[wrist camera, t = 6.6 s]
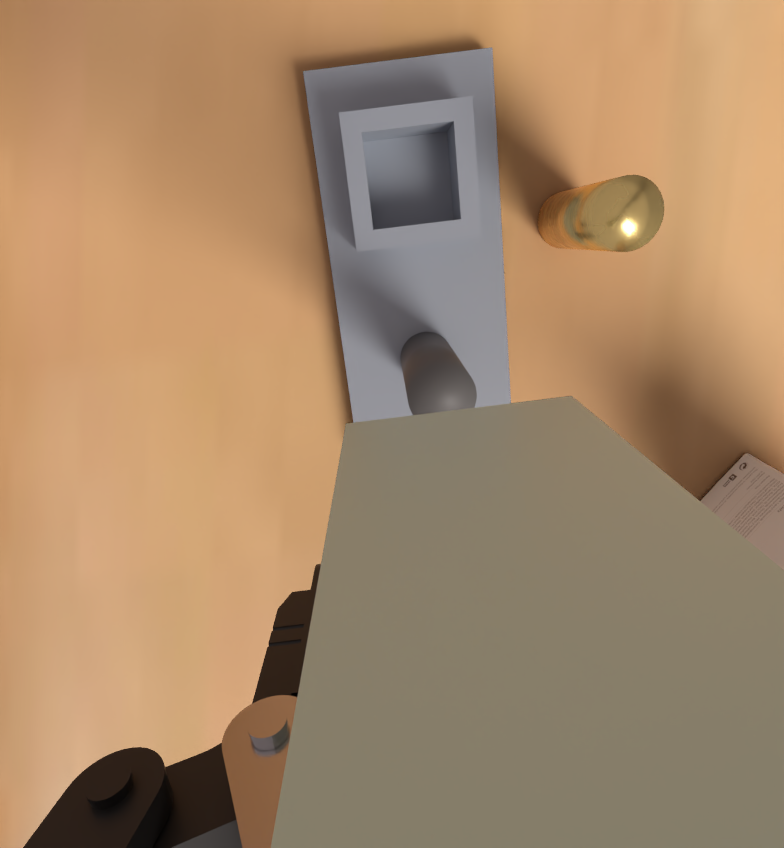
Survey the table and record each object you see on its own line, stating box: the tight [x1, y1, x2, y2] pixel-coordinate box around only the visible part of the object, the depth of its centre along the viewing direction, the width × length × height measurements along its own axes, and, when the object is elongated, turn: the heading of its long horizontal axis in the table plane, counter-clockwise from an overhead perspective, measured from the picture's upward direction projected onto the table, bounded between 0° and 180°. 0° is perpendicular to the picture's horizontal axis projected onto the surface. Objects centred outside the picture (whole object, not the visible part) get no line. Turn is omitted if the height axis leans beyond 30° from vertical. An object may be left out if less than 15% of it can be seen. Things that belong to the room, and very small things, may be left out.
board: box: [303, 48, 511, 423], centre depth 30 cm, size 10×22×10 cm, turn 7°
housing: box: [271, 396, 784, 848], centre depth 9 cm, size 6×6×12 cm
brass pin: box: [538, 175, 664, 252], centre depth 30 cm, size 3×3×9 cm
